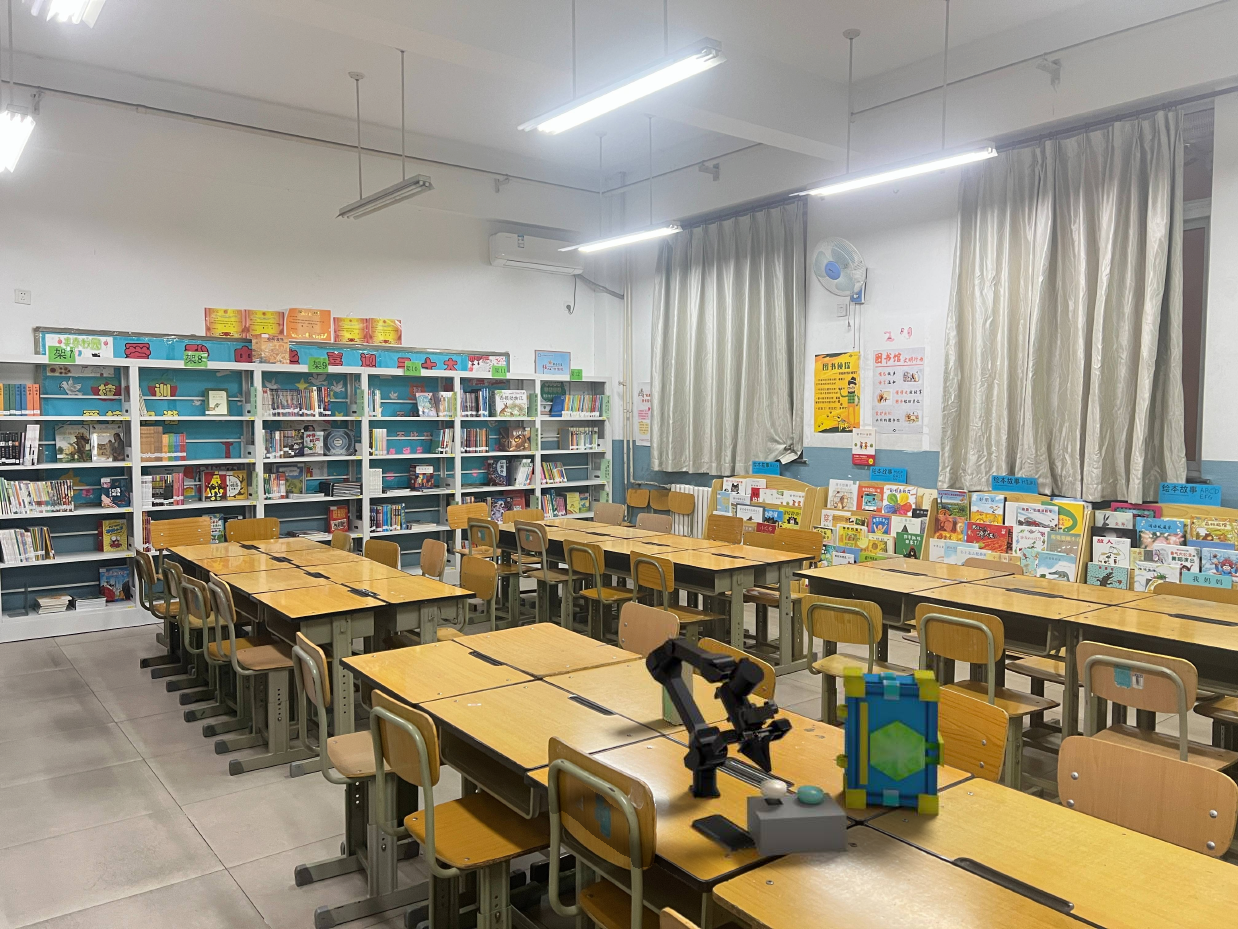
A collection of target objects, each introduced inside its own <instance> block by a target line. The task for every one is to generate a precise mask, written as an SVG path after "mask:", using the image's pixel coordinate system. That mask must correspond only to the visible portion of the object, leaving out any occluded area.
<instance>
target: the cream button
mask: <svg viewBox="0 0 1238 929" xmlns="http://www.w3.org/2000/svg"><path fill="white" fill-rule="evenodd" d="M787 788H788V787H787V784H786V783H785V782H784V781H782V780H779V779H765V780H762V781H761V782H760V794H761V796H765V797H768V798H769V805H778V798H783V797H785V796H786V795H788V794H787Z"/></svg>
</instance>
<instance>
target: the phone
mask: <svg viewBox="0 0 1238 929" xmlns="http://www.w3.org/2000/svg"><path fill="white" fill-rule="evenodd" d="M691 826H692V827H693V829H696V830H697V831H698V832H700V833H702V834H703V835H705V836H706V837H707V838H709V839H711V840H712V841H713V842H715V843H717V844H718V845H720V846H721V847H723V848H724V849H725V850H727V851H729V852H730V853H737V852H740V851H741V852H742V851H744V850H747V849H751V848H755V842H754V840H753V839H752V837H751V835H750V833H749V832H748V831H747V829H744V828H743V827H741V826H740V825H738V824H736V823H735V822H734V821H731V820H730V819H728V818H727V817H725V816H723V815H722V814H718V813H716V814H711V815H708V816H705V817H701V818H697V819H693V820H692V821H691Z"/></svg>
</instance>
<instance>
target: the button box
mask: <svg viewBox="0 0 1238 929" xmlns="http://www.w3.org/2000/svg"><path fill="white" fill-rule="evenodd" d="M847 821H848V820H847V813H846V812H845V811H844V810H843V809H842V807H841V806H840V805H839V803H838V802H836V800H835V799H834V798H833V797H832V795H831V794H830V793H829V792H823V802H821V803H819V804H806V803H803V802H800V801H799V800H798V799H797V793H795V794H791V793H789V794H786V796H785V797H783V798H778V805H769V798H768V797H765V796H763V795H755V796H754V795H753V796H747V797H746V831H748V832H749V833H750V835H751V837H752V839H753V840H754V842H755V846H754V848H756V850H757V852H758V854H759V856H760V857H765V856H766V857H767V856H783V855H784V856H785V855H797V854H801V855H802V854H817V853H832V852H833V853H834V852H846V851H847V824H848V823H847Z"/></svg>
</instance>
